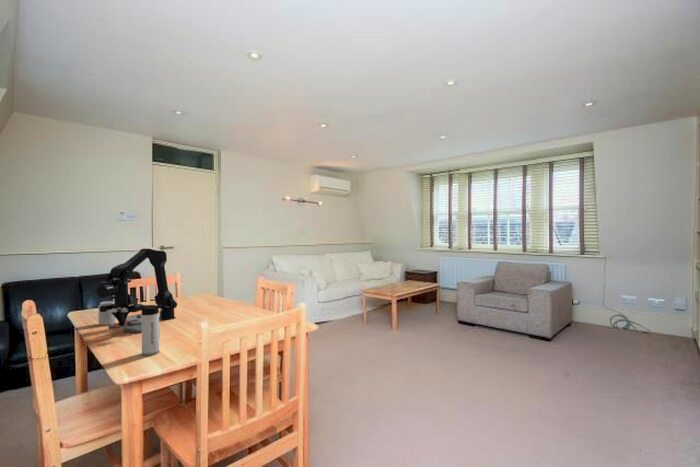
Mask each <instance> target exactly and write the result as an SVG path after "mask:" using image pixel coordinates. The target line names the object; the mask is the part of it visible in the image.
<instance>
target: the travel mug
mask: <svg viewBox="0 0 700 467" xmlns="http://www.w3.org/2000/svg"><path fill="white" fill-rule="evenodd" d="M141 308H142V310H141V313H140V314H141V315H142V316H141V320H142V333H141V355H142V356H144V357H151V356H155V355H157V354H159V353H160V320H159V317H160V308H159V307H158V306H157V304H156V305H155V304H143V305H142V306H141Z"/></svg>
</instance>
